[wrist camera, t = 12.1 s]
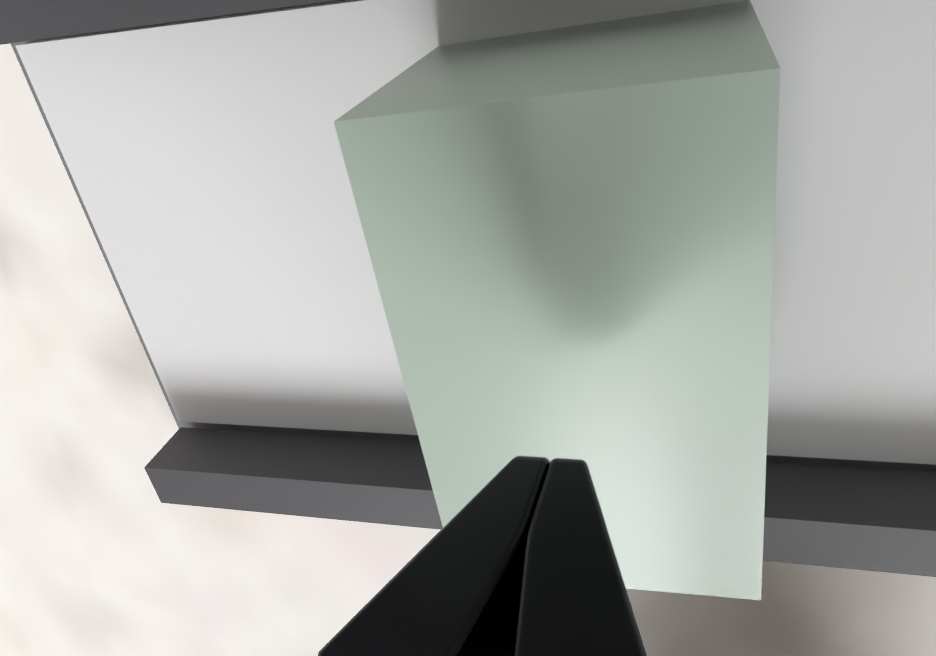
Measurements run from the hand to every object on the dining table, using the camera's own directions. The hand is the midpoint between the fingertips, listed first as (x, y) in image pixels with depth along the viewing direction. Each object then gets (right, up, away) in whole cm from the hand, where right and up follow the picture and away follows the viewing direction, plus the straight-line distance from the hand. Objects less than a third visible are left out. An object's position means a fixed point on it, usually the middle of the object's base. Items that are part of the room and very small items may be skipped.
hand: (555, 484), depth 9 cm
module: (+1, +3, +5) cm, 6 cm away
